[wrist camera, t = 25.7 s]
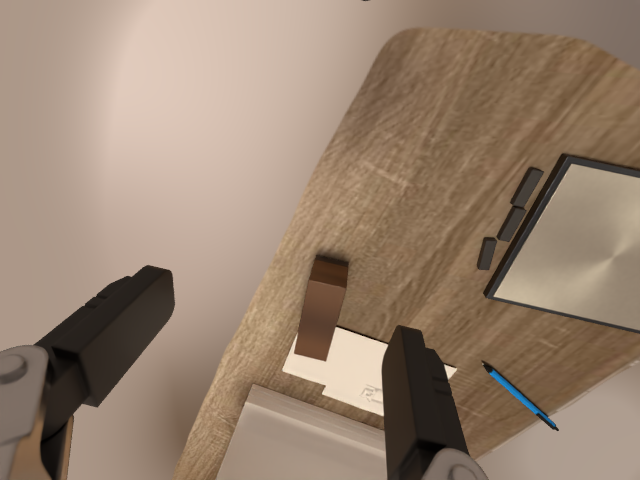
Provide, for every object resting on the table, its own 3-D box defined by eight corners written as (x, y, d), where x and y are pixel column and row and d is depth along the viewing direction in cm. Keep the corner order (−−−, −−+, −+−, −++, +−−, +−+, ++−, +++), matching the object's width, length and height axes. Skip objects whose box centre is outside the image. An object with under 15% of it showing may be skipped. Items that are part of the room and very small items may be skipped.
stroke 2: (527, 210, 32) (523, 207, 33) (515, 208, 32) (512, 205, 33) (509, 242, 34) (506, 239, 34) (498, 240, 34) (496, 237, 35)
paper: (460, 363, 44) (462, 369, 43) (413, 425, 52) (414, 432, 51) (300, 313, 44) (298, 318, 43) (277, 383, 52) (276, 389, 51)
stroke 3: (544, 171, 30) (540, 170, 31) (532, 169, 30) (528, 167, 31) (523, 207, 32) (520, 205, 33) (512, 205, 32) (509, 202, 33)
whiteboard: (561, 153, 30) (569, 156, 29) (766, 197, 29) (781, 201, 28) (483, 293, 38) (486, 299, 37) (639, 329, 37) (648, 336, 36)
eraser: (316, 254, 39) (308, 279, 34) (348, 262, 39) (346, 288, 33) (302, 323, 44) (293, 353, 39) (330, 329, 44) (326, 361, 39)
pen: (553, 427, 47) (557, 435, 46) (478, 362, 43) (481, 368, 42) (558, 425, 47) (562, 433, 46) (484, 359, 43) (486, 366, 42)
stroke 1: (497, 241, 34) (494, 237, 35) (486, 240, 34) (483, 237, 35) (489, 270, 36) (486, 266, 36) (478, 269, 36) (476, 266, 37)
